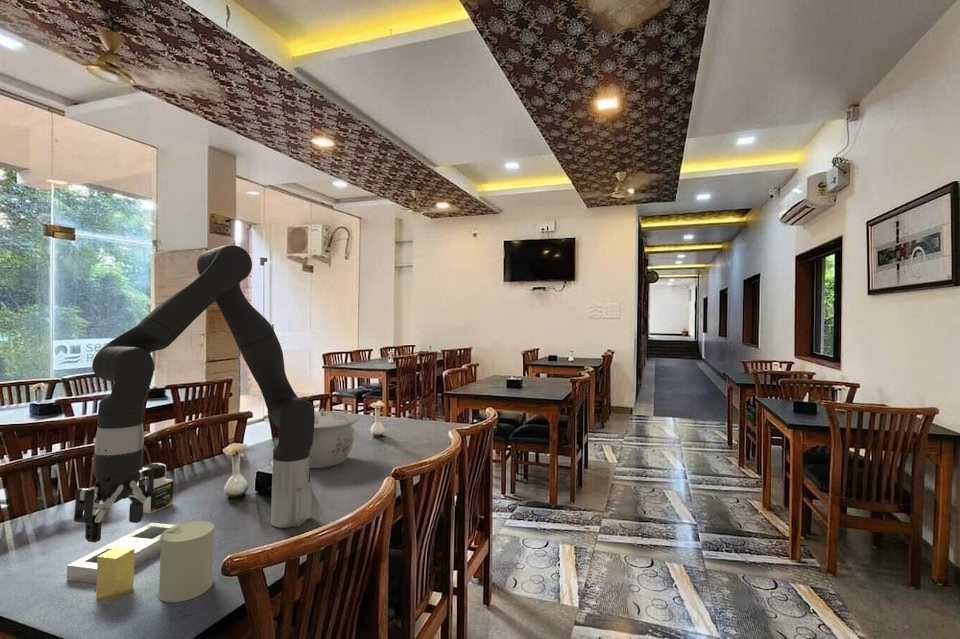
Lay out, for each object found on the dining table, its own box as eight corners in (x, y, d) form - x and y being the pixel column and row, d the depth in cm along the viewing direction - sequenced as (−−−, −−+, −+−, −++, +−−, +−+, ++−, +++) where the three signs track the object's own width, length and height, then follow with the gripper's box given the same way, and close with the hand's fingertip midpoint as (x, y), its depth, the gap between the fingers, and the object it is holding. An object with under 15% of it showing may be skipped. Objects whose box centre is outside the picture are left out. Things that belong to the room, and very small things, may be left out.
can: (175, 575, 94) (177, 518, 95) (221, 575, 95) (223, 518, 95) (146, 603, 85) (148, 539, 85) (197, 602, 86) (199, 539, 86)
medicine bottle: (150, 514, 123) (152, 470, 123) (129, 511, 125) (130, 467, 125) (173, 503, 130) (174, 462, 130) (152, 501, 132) (154, 460, 132)
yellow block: (133, 588, 90) (134, 548, 90) (114, 600, 86) (115, 558, 86) (115, 586, 90) (117, 546, 90) (96, 598, 86) (97, 556, 86)
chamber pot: (329, 448, 190) (330, 399, 190) (373, 462, 174) (374, 408, 174) (264, 464, 167) (266, 408, 167) (308, 481, 151) (310, 419, 151)
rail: (183, 538, 110) (183, 525, 110) (104, 584, 91) (105, 569, 91) (151, 534, 112) (151, 522, 112) (66, 580, 92) (67, 565, 92)
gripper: (100, 460, 81) (96, 551, 80) (166, 440, 95) (163, 518, 95) (64, 456, 82) (60, 546, 82) (135, 437, 96) (132, 514, 96)
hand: (115, 531), depth 88 cm, fingers open, 8 cm apart
